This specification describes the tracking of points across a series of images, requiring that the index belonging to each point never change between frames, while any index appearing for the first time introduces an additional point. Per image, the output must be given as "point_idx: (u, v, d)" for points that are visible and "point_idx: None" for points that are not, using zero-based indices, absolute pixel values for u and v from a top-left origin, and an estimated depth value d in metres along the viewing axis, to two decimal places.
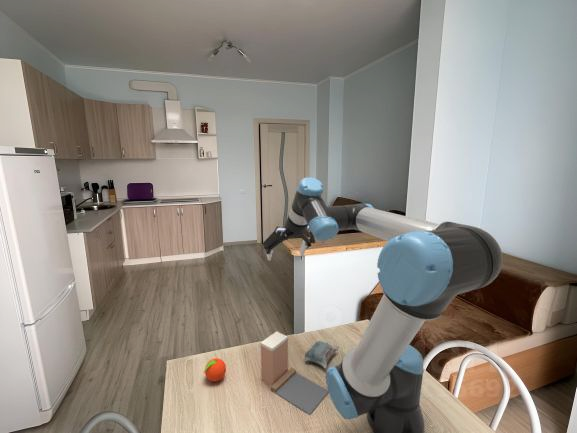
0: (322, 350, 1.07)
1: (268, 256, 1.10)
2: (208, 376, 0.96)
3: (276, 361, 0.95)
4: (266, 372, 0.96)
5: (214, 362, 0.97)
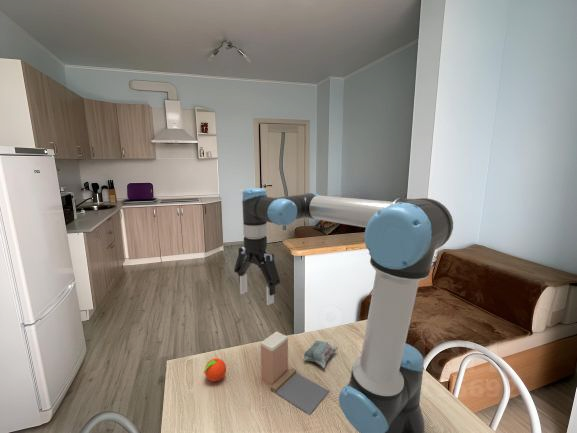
0: (321, 349, 1.07)
1: None
2: (208, 376, 0.96)
3: (276, 361, 0.95)
4: (266, 372, 0.96)
5: (214, 362, 0.97)
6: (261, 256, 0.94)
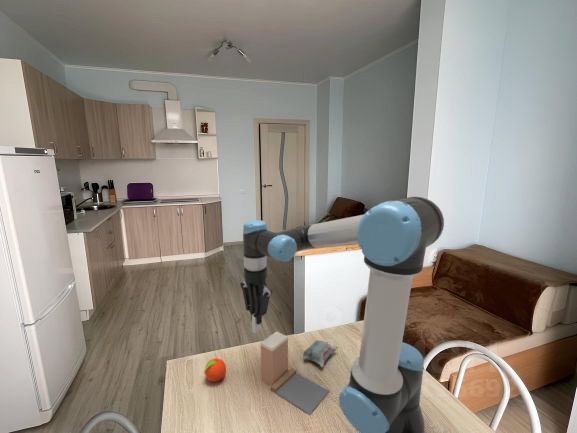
0: (320, 349, 1.07)
1: None
2: (208, 376, 0.96)
3: (276, 361, 0.95)
4: (266, 372, 0.96)
5: (214, 362, 0.97)
6: (261, 288, 0.96)
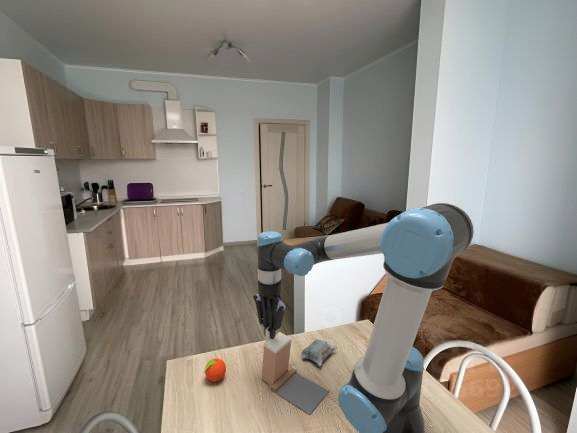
0: (319, 348, 1.08)
1: None
2: (208, 376, 0.96)
3: (278, 362, 0.95)
4: (267, 372, 0.96)
5: (214, 362, 0.97)
6: (275, 302, 0.93)
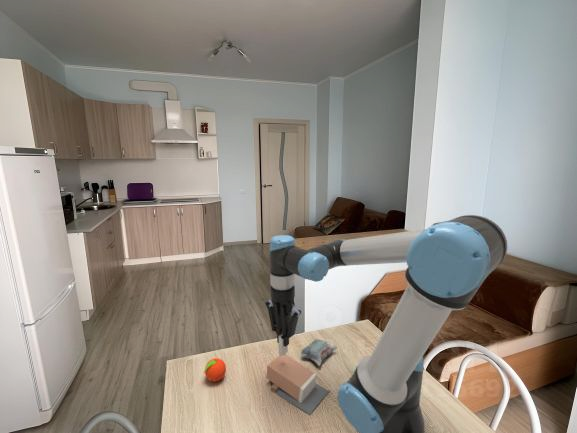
0: (318, 347, 1.08)
1: None
2: (208, 376, 0.96)
3: None
4: (276, 377, 0.94)
5: (214, 362, 0.97)
6: (289, 308, 0.89)
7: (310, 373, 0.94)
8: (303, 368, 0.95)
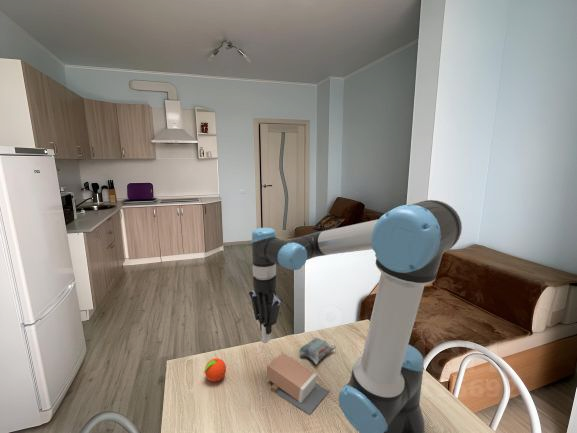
0: (316, 346, 1.09)
1: None
2: (208, 376, 0.96)
3: None
4: (276, 377, 0.94)
5: (214, 362, 0.97)
6: (270, 297, 0.94)
7: (310, 373, 0.94)
8: (303, 368, 0.95)
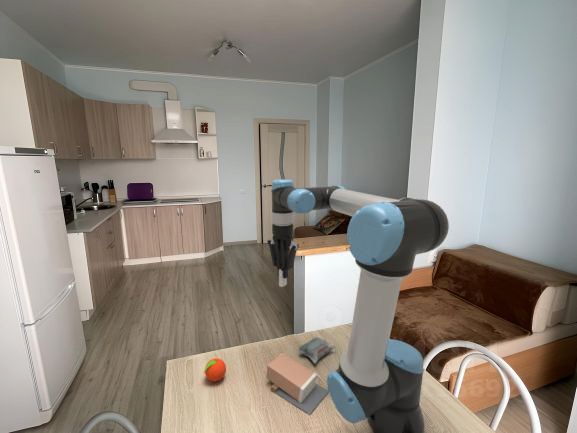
0: (316, 345, 1.09)
1: None
2: (208, 376, 0.96)
3: None
4: (276, 377, 0.94)
5: (214, 362, 0.97)
6: (288, 242, 1.03)
7: (310, 373, 0.94)
8: (303, 368, 0.95)
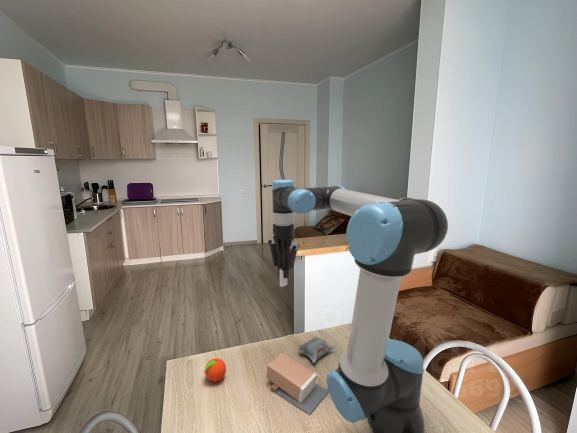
0: (315, 345, 1.09)
1: None
2: (208, 376, 0.96)
3: None
4: (276, 377, 0.94)
5: (214, 362, 0.97)
6: (289, 242, 1.03)
7: (310, 373, 0.94)
8: (303, 368, 0.95)
